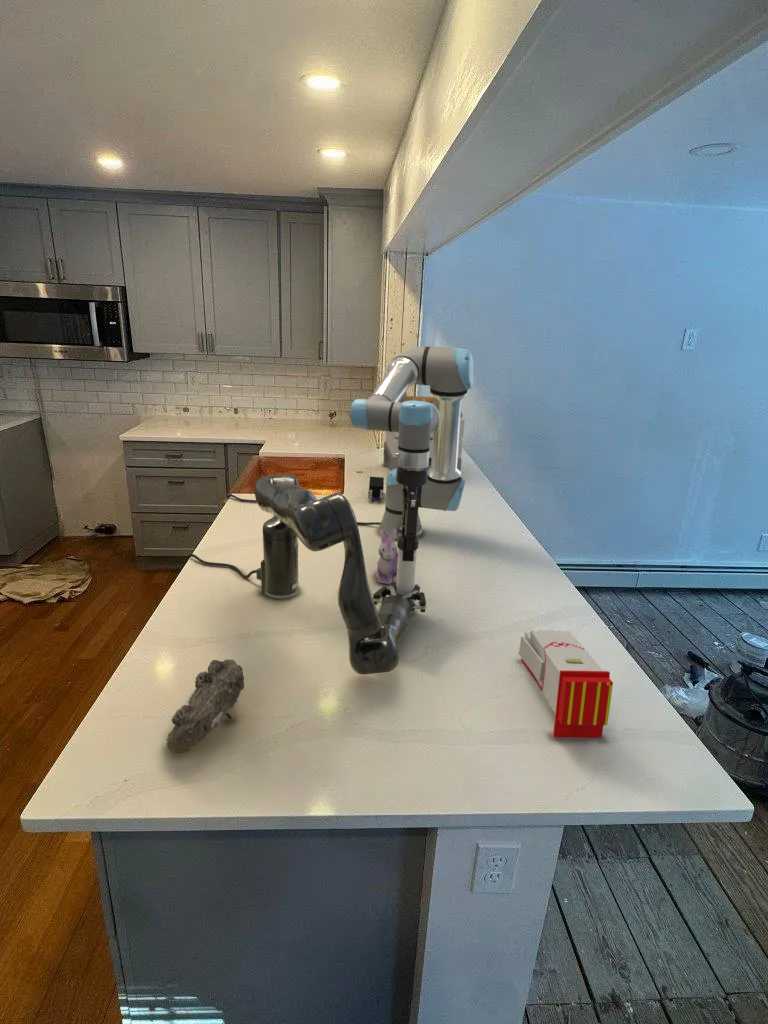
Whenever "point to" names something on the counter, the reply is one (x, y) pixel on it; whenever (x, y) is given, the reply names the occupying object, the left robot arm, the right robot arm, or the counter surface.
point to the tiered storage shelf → (392, 437)
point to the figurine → (387, 558)
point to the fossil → (206, 705)
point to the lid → (400, 543)
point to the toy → (568, 682)
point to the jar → (405, 574)
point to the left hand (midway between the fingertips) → (406, 586)
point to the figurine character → (376, 488)
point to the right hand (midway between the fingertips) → (407, 555)
